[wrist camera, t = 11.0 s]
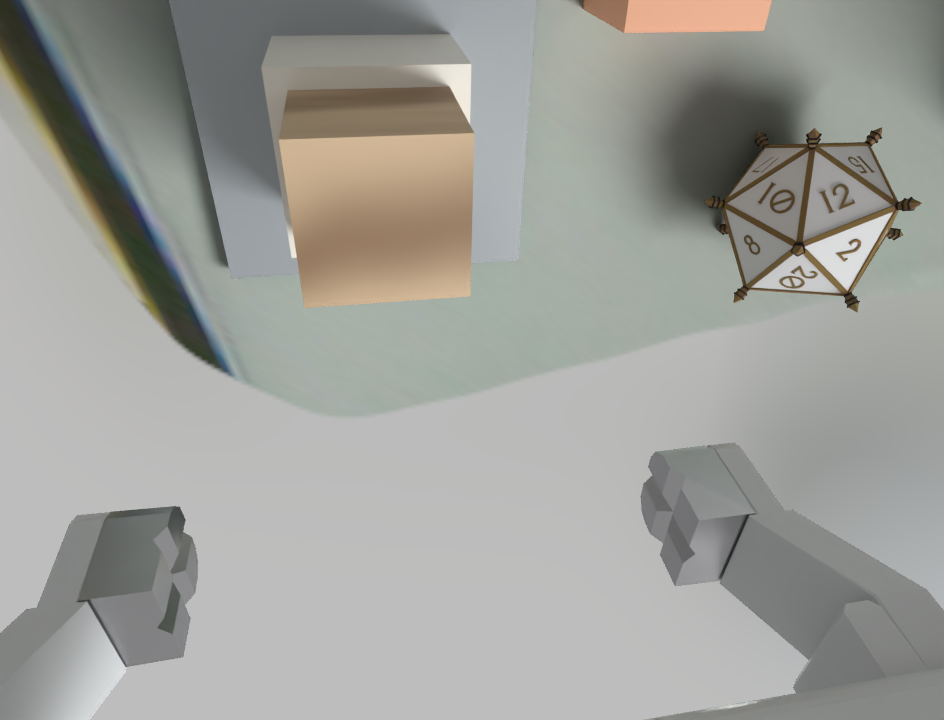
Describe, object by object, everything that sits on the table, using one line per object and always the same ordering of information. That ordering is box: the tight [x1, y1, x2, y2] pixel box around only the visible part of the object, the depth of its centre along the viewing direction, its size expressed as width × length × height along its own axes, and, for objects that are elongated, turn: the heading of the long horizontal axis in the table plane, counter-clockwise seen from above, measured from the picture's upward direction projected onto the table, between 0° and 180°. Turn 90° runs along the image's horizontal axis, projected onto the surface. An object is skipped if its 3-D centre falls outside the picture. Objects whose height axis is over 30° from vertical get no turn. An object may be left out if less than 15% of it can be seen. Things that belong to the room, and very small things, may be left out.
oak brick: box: [279, 87, 474, 308], centre depth 22 cm, size 6×6×5 cm
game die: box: [705, 128, 922, 312], centre depth 31 cm, size 9×8×10 cm
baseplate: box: [168, 0, 537, 278], centre depth 26 cm, size 14×14×6 cm
